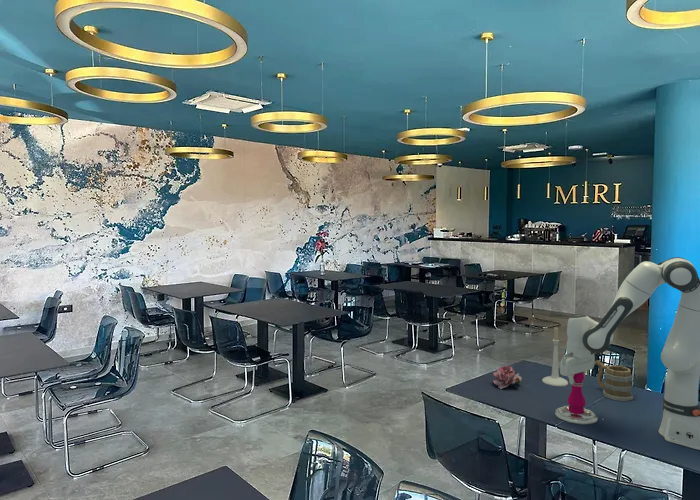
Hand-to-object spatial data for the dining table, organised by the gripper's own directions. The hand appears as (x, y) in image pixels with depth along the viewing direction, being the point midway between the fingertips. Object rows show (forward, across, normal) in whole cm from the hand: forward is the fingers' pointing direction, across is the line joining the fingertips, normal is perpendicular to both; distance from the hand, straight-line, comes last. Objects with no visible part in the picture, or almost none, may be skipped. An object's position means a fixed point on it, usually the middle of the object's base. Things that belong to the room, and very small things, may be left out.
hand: (576, 382), depth 214 cm
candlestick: (+16, +32, +33) cm, 49 cm away
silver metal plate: (+15, 0, 0) cm, 15 cm away
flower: (+16, +6, +43) cm, 46 cm away
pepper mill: (+14, 0, 0) cm, 14 cm away
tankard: (+16, +40, +7) cm, 44 cm away
